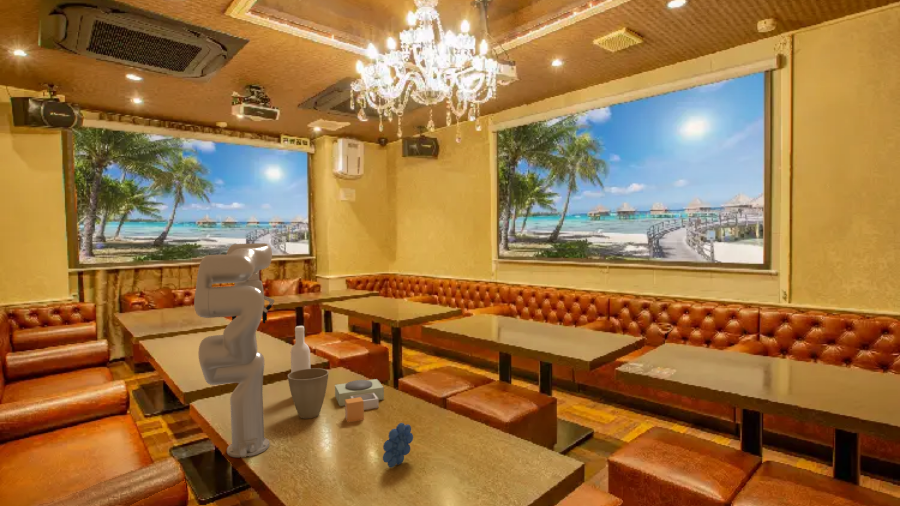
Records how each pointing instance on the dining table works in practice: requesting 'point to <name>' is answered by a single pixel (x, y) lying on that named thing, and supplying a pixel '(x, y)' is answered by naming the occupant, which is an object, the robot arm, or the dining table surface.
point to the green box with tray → (361, 392)
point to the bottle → (300, 351)
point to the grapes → (397, 444)
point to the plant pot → (308, 390)
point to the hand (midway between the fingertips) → (249, 324)
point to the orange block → (354, 409)
